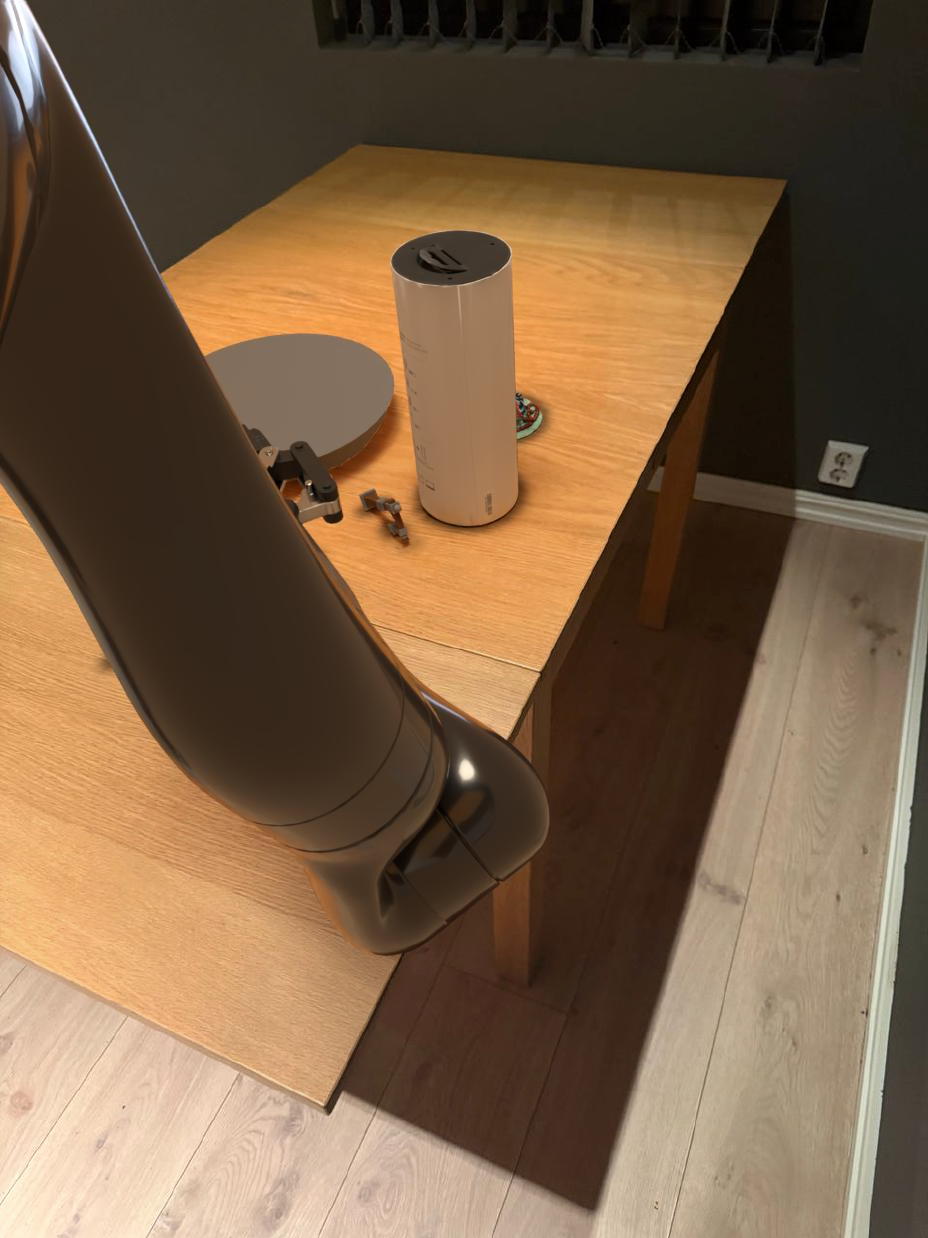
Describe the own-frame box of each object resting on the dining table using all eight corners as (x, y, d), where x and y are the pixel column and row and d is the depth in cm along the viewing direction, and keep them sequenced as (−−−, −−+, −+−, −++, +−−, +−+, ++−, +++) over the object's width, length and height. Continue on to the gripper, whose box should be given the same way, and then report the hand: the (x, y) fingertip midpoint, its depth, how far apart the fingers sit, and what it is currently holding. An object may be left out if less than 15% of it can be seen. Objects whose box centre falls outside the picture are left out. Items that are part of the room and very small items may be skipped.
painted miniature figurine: (498, 370, 104) (511, 363, 96) (539, 414, 105) (556, 411, 98) (451, 419, 104) (460, 416, 97) (493, 462, 106) (506, 463, 98)
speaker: (533, 515, 89) (529, 262, 70) (435, 540, 88) (403, 288, 69) (501, 456, 96) (488, 213, 77) (409, 478, 95) (374, 236, 76)
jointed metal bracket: (402, 546, 86) (387, 504, 84) (372, 532, 93) (358, 492, 91) (418, 539, 86) (404, 496, 85) (387, 525, 93) (373, 486, 91)
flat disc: (110, 482, 98) (95, 449, 95) (237, 354, 116) (228, 322, 113) (335, 525, 90) (327, 490, 87) (434, 380, 108) (431, 347, 105)
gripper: (384, 502, 47) (268, 372, 57) (124, 612, 43) (47, 450, 52) (400, 601, 53) (291, 466, 62) (171, 707, 48) (93, 544, 58)
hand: (180, 459), depth 57 cm, fingers open, 8 cm apart
